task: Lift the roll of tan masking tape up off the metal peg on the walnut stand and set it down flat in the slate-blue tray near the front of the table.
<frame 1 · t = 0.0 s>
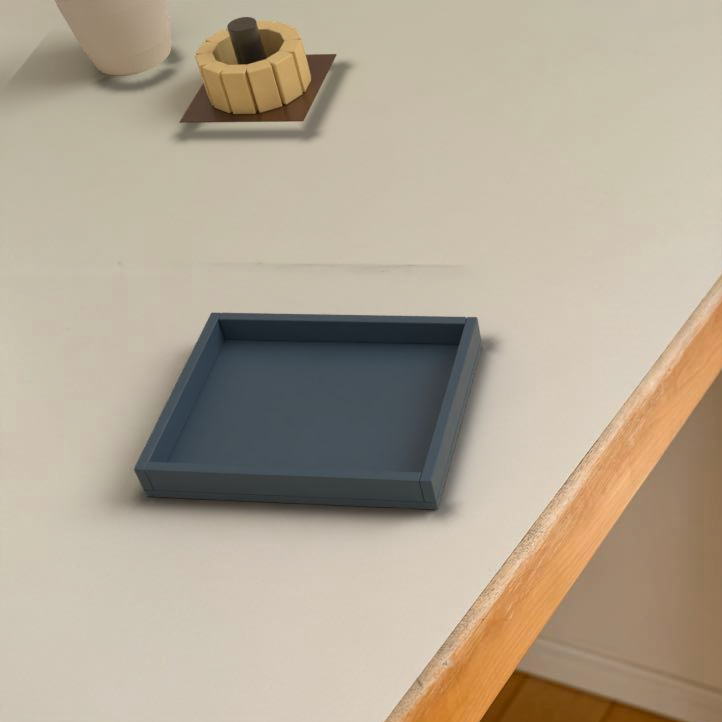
tray: (321, 418, 66), on the table
cup: (138, 70, 94), on the table
peg stand: (263, 100, 89), on the table
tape: (259, 86, 88), point 1 cm above the table, touching peg stand
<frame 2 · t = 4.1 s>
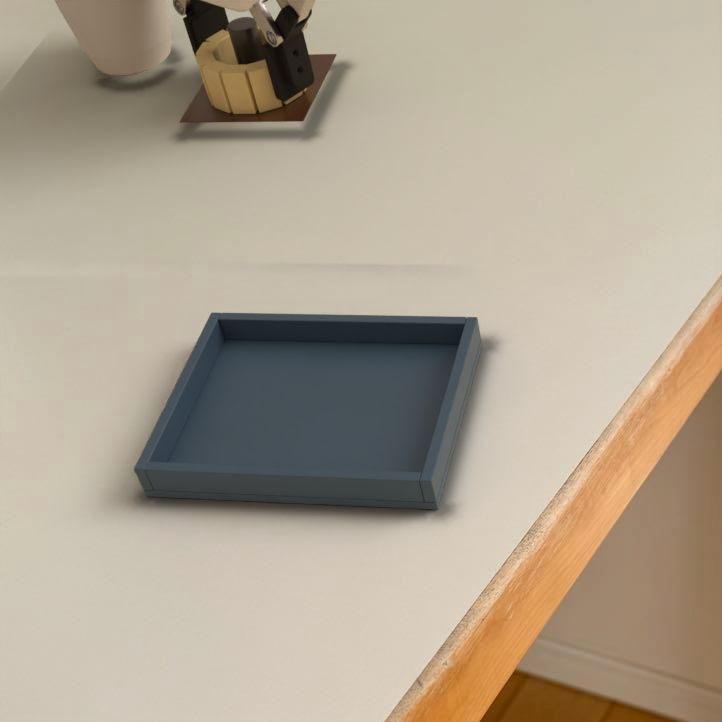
hand: (256, 75, 87), 2 cm above the table, tool pointing down, fingers closed on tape, 7 cm apart
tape: (259, 86, 88), point 1 cm above the table, touching gripper, peg stand
everything else where it was.
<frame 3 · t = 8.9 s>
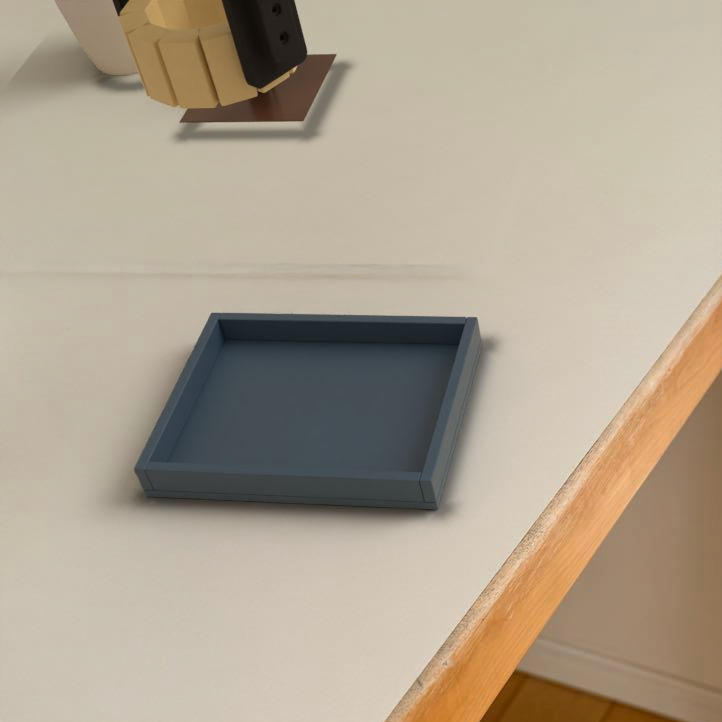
hand: (216, 49, 56), 18 cm above the table, tool pointing down, fingers closed on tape, 7 cm apart
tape: (222, 66, 56), point 17 cm above the table, touching gripper
everything else where it was.
when the fingers open (1 cm above the table, at t = 13.6 s): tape stays where it is, resting on tray.
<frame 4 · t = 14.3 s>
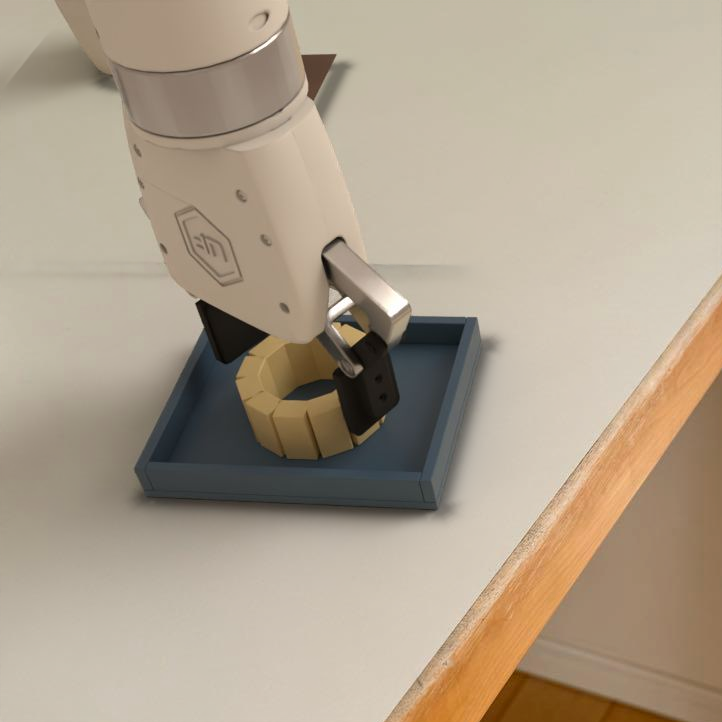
hand: (307, 381, 64), 2 cm above the table, tool pointing down, fingers open, 9 cm apart
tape: (320, 410, 65), resting on tray
everything else where it was.
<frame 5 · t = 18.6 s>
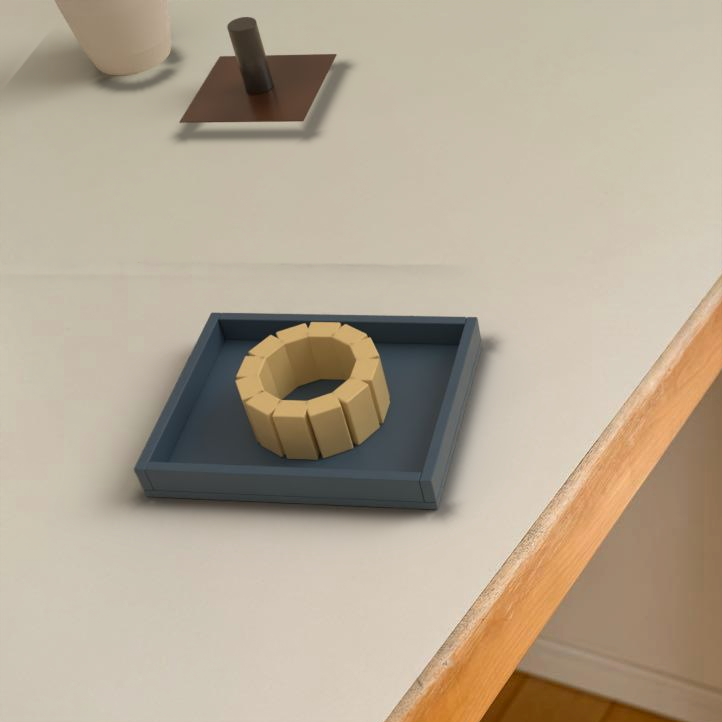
nothing on the table moved.
at the end: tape inside the target area in the tray (0.1 cm from its centre), point 0.5 cm above the tray's base; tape tilted 0°; the gripper is holding nothing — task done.
